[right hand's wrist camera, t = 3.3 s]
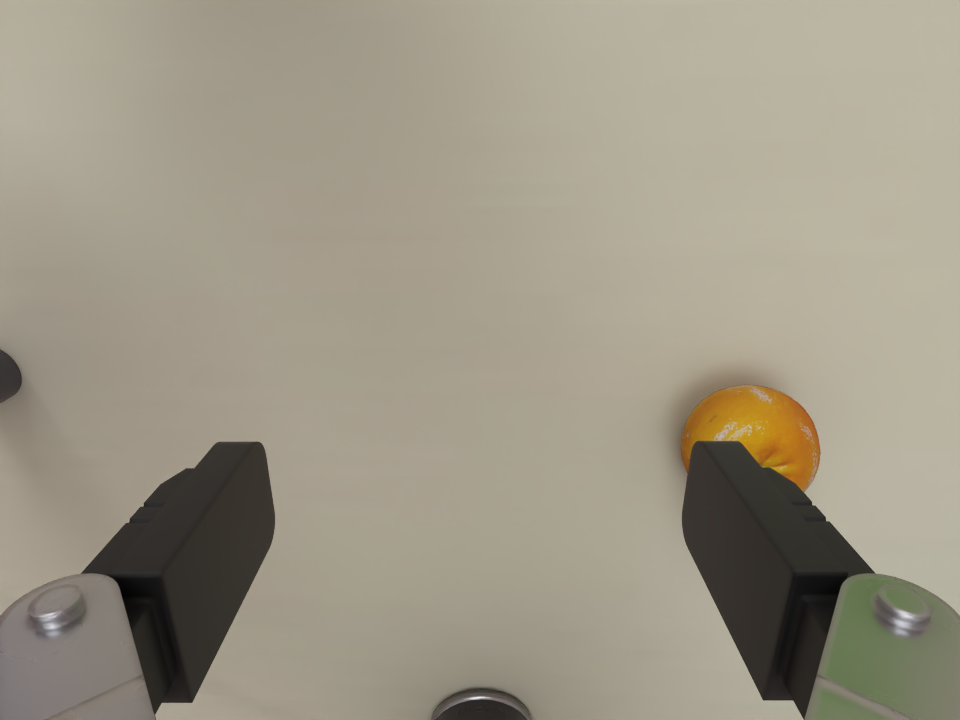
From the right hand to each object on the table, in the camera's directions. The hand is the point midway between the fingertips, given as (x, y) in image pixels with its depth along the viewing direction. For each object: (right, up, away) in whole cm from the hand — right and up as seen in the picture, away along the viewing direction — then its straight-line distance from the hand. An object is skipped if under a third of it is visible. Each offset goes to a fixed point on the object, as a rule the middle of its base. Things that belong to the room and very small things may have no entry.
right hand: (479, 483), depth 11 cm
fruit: (+18, -2, +32) cm, 37 cm away
